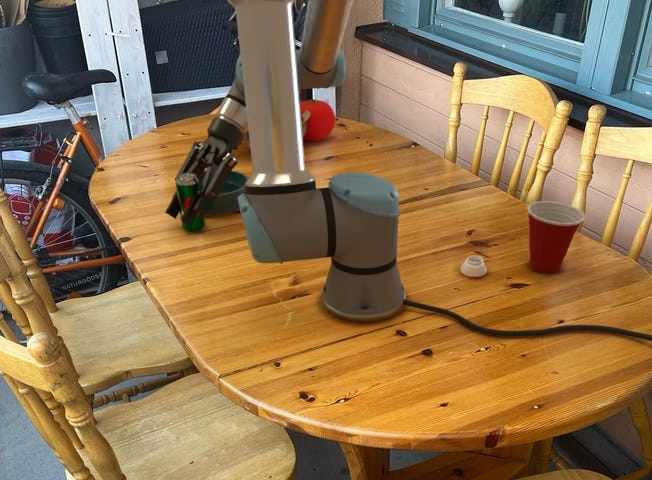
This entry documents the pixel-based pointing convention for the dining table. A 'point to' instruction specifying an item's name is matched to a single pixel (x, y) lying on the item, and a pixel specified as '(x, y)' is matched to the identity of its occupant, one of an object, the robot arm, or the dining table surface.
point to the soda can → (189, 199)
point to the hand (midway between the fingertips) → (178, 219)
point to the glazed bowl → (226, 194)
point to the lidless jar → (473, 267)
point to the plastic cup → (551, 233)
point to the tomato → (318, 119)
